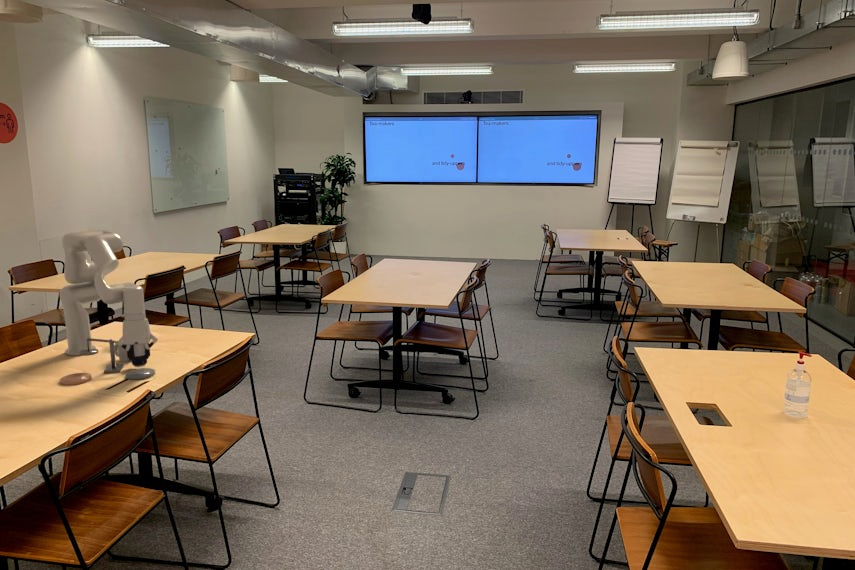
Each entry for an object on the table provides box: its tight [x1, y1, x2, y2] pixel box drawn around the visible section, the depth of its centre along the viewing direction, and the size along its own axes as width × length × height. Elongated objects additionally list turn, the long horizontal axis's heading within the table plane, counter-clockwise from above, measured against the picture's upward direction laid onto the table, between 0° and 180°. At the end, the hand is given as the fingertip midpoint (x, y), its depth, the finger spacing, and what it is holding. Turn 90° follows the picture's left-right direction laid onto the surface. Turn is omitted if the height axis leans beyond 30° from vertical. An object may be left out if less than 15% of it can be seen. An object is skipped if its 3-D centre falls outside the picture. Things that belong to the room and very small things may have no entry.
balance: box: [78, 337, 132, 374], centre depth 260 cm, size 8×25×15 cm, turn 105°
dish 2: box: [125, 367, 156, 381], centre depth 255 cm, size 11×11×1 cm
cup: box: [114, 343, 131, 363], centre depth 273 cm, size 7×10×9 cm
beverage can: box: [130, 342, 148, 368], centre depth 253 cm, size 6×6×12 cm
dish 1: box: [59, 372, 93, 386], centre depth 249 cm, size 11×11×1 cm
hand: (139, 358), depth 253 cm, fingers closed on beverage can, 5 cm apart
